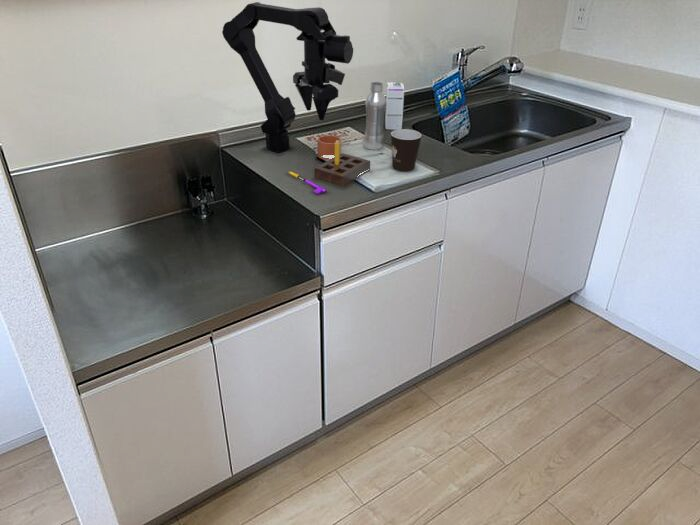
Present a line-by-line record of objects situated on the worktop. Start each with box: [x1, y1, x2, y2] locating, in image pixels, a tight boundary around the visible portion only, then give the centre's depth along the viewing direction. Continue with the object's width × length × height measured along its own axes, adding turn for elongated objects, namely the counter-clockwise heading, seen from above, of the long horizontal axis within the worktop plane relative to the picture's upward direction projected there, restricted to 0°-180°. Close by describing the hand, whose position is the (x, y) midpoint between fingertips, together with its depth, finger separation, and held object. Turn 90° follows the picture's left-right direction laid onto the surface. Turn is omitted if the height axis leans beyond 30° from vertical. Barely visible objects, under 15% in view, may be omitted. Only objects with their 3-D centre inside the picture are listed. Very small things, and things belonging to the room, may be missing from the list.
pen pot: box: [317, 134, 342, 161], centre depth 168 cm, size 7×7×6 cm
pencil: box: [334, 139, 340, 165], centre depth 156 cm, size 1×1×10 cm
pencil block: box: [313, 152, 371, 188], centre depth 157 cm, size 10×14×4 cm
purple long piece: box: [287, 171, 327, 195], centre depth 152 cm, size 3×1×16 cm
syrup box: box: [384, 81, 405, 131], centre depth 189 cm, size 6×6×14 cm
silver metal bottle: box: [362, 81, 386, 151], centre depth 170 cm, size 6×7×20 cm
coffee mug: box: [390, 128, 422, 173], centre depth 162 cm, size 12×9×10 cm
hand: (315, 115), depth 161 cm, fingers open, 9 cm apart
